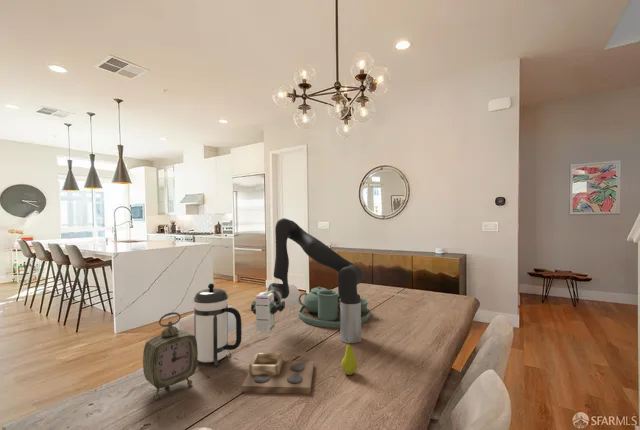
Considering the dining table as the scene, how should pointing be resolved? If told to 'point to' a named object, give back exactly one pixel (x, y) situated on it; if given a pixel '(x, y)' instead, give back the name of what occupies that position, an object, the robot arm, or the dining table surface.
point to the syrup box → (264, 312)
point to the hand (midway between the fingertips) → (263, 311)
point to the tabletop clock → (170, 356)
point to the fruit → (349, 361)
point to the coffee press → (213, 325)
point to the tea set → (326, 308)
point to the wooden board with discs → (278, 375)
